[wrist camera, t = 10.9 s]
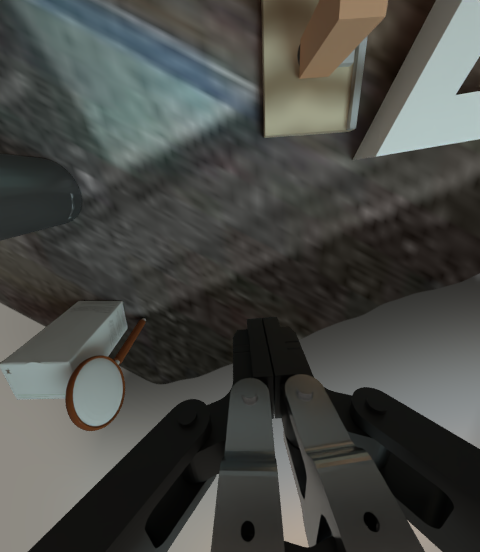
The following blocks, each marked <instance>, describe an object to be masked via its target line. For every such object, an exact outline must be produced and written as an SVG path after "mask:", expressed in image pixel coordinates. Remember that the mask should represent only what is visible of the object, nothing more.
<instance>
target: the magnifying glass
mask: <svg viewBox="0 0 480 552" xmlns="http://www.w3.org/2000/svg"><path fill="white" fill-rule="evenodd" d="M145 321H146V319H145V318H142V319H141V320H139V322H138V323H137V325H136V326H135V328H134V329H133V331H132V332H131V334H130V335H129V337H128V338H127V340H126V342H125V343H124V345H123V346H122V348H121V349H120V351H119V352H118V354H117V355H116V357H115V358H114V360H113V359H111V358H110V357H107V356H103V355H98V356H93V357H90V358H88V359H86V360H84V361H83V362H82V363H80V364H79V365H78V366H77V368H76V369H75V370H74V372H73V373H72V375H71V377H70V379H69V381H68V385H67V389H66V396H65V399H66V408H67V412H68V415H69V417H70V419H71V420H72V422H73V423H74V424H75V425H76V426H77V427H79V428H81V429H83V430H86V431H95V430H99V429H102V428H104V427H106V426H107V425H108V424H109V423H111V421H113V420H114V418H115V417H116V416H117V414H118V413H119V411H120V409H121V407H122V404H123V400H124V395H125V381H124V376H123V373H122V371H121V369H120V367H119V365H120V364H121V363H122V361H123V359H124V358H125V356H126V354H127V353H128V351H129V349H130V348H131V346H132V344H133V343H134V341H135V339H136V338H137V336H138V335H139V333H140V331H141V330H142V328H143V326H144V325H145V323H146V322H145Z"/></svg>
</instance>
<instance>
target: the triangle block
mask: <svg viewBox="0 0 480 552" xmlns="http://www.w3.org/2000/svg"><path fill="white" fill-rule="evenodd" d="M479 56H480V0H436V1H435V3H434V5H433V7H432V9H431V11H430V13H429V14H428V16H427V18H426V20H425V22H424V24H423V26H422V28H421V30H420V32H419V34H418V35H417V37H416V39H415V41H414V43H413V45H412V47H411V49H410V51H409V53H408V55H407V57H406V58H405V60H404V62H403V64H402V66H401V68H400V70H399V72H398V74H397V76H396V78H395V80H394V81H393V83H392V85H391V87H390V89H389V91H388V93H387V95H386V97H385V99H384V101H383V102H382V104H381V106H380V108H379V110H378V112H377V114H376V116H375V118H374V120H373V122H372V124H371V125H370V127H369V129H368V131H367V133H366V135H365V137H364V139H363V141H362V143H361V145H360V146H359V148H358V150H357V152H356V154H355V156H354V158H353V160H357V159H363V158H370V157H376V156H382V155H388V154H394V153H400V152H406V151H411V150H417V149H423V148H429V147H435V146H441V145H447V144H453V143H459V142H465V141H471V140H477V139H480V91H476V92H471V93H465V94H459V95H456V93H457V92H458V90H459V89H460V87H461V85H462V84H463V82H464V80H465V79H466V77H467V76H468V74H469V72H470V71H471V69H472V68H473V66H474V64H475V63H476V61H477V60H478V58H479Z"/></svg>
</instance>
